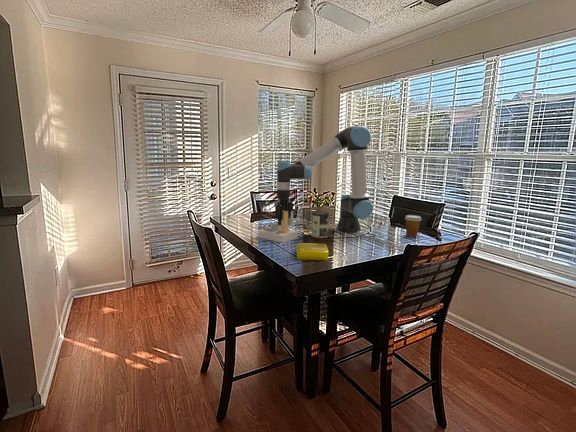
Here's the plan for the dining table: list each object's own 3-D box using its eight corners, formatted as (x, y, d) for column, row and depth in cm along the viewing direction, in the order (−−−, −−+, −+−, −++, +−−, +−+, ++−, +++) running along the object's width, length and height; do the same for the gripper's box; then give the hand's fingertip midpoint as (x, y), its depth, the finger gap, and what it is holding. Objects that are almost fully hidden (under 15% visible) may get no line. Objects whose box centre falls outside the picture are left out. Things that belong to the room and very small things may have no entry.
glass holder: (279, 223, 236) (279, 202, 233) (298, 222, 240) (299, 201, 237) (283, 226, 228) (283, 204, 225) (303, 225, 232) (303, 203, 229)
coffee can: (328, 234, 210) (329, 211, 207) (327, 238, 200) (328, 214, 197) (312, 233, 212) (312, 210, 209) (309, 237, 202) (310, 213, 199)
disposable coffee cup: (420, 234, 213) (422, 215, 210) (419, 238, 204) (421, 218, 202) (404, 232, 217) (406, 214, 214) (402, 236, 208) (404, 216, 206)
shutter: (280, 229, 202) (280, 222, 201) (272, 231, 197) (272, 224, 196) (271, 227, 206) (271, 220, 205) (263, 229, 201) (263, 222, 200)
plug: (282, 232, 200) (282, 210, 197) (287, 233, 197) (288, 211, 195) (278, 233, 196) (278, 211, 194) (283, 234, 194) (283, 212, 192)
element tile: (325, 251, 176) (325, 242, 175) (328, 260, 161) (329, 251, 160) (296, 250, 176) (296, 241, 175) (296, 260, 161) (297, 250, 160)
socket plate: (297, 237, 200) (297, 231, 199) (282, 242, 189) (283, 235, 188) (273, 232, 210) (273, 226, 209) (258, 237, 199) (258, 230, 198)
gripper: (279, 191, 183) (278, 233, 187) (297, 188, 196) (296, 228, 201) (268, 190, 187) (268, 231, 192) (287, 187, 201) (286, 226, 205)
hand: (283, 229), depth 196 cm, fingers closed on plug, 4 cm apart
